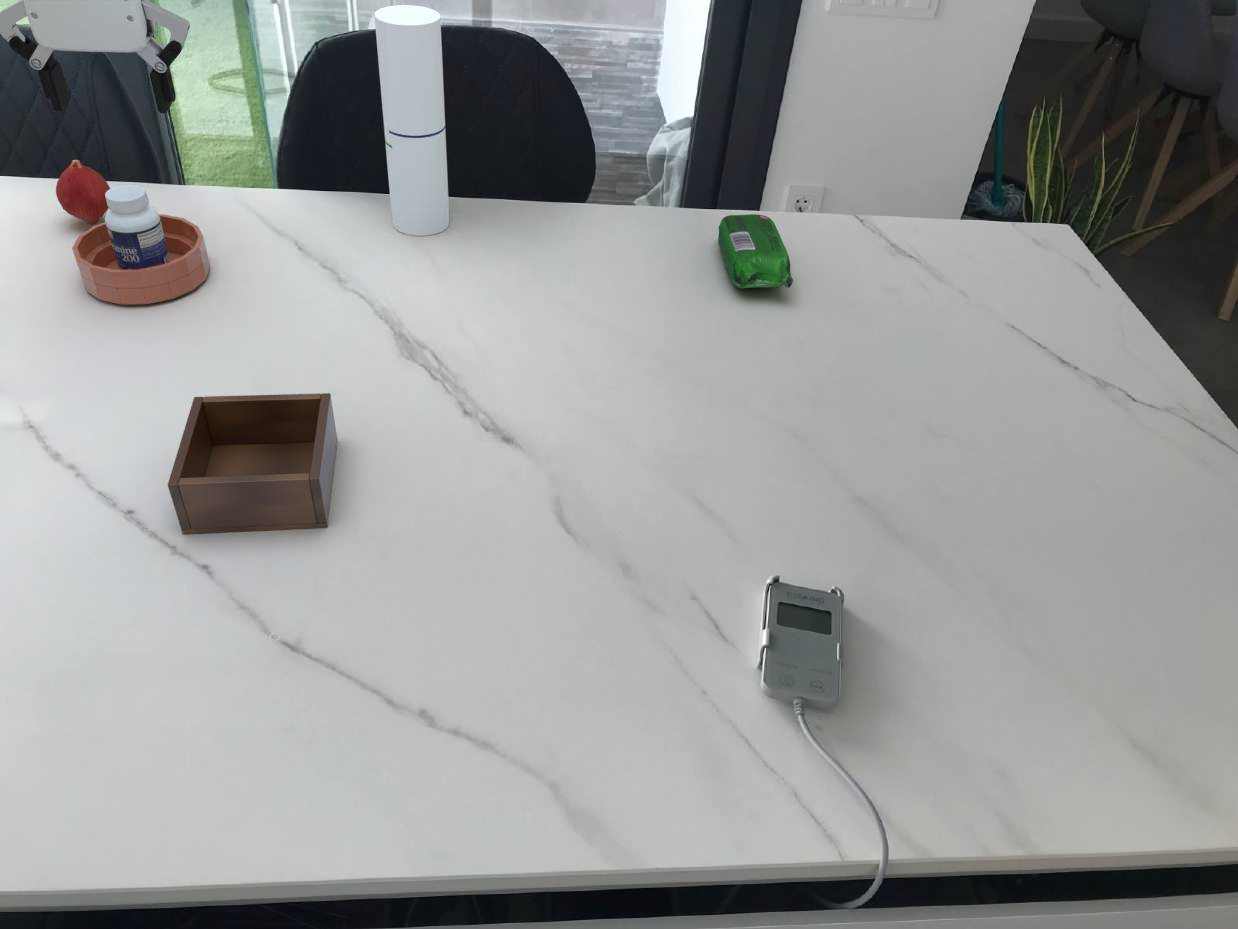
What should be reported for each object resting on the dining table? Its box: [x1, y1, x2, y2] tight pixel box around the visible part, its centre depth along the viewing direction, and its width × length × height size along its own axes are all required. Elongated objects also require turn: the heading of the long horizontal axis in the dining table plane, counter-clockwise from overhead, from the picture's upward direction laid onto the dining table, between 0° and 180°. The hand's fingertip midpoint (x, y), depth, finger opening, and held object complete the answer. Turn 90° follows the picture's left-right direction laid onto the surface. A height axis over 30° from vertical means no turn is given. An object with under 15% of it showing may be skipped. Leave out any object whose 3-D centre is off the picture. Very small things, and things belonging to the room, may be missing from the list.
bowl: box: [71, 213, 211, 305], centre depth 109 cm, size 13×13×4 cm
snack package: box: [717, 213, 795, 289], centre depth 119 cm, size 7×16×5 cm, turn 5°
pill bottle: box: [104, 184, 171, 270], centre depth 107 cm, size 5×5×10 cm
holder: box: [167, 392, 338, 535], centre depth 84 cm, size 12×12×6 cm
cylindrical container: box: [373, 4, 450, 237], centre depth 116 cm, size 7×7×25 cm
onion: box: [55, 159, 111, 225], centre depth 116 cm, size 6×6×8 cm
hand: (114, 107), depth 98 cm, fingers open, 9 cm apart
